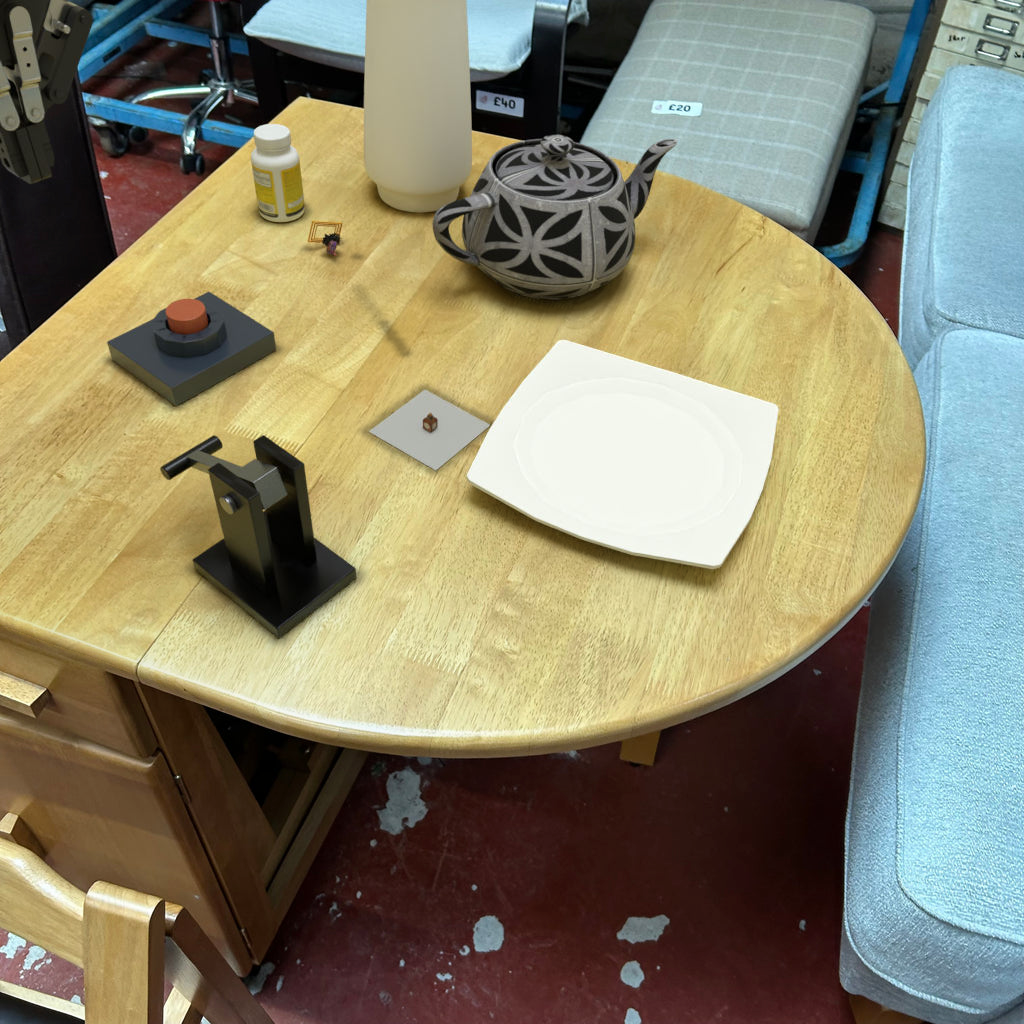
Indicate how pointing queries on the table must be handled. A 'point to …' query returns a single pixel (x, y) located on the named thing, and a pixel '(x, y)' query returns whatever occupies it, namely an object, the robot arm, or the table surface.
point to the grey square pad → (429, 429)
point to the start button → (186, 316)
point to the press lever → (252, 473)
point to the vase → (417, 101)
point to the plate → (629, 456)
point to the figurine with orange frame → (328, 240)
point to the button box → (192, 350)
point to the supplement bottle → (277, 174)
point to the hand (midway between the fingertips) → (33, 176)
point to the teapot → (551, 216)
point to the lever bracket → (271, 547)
